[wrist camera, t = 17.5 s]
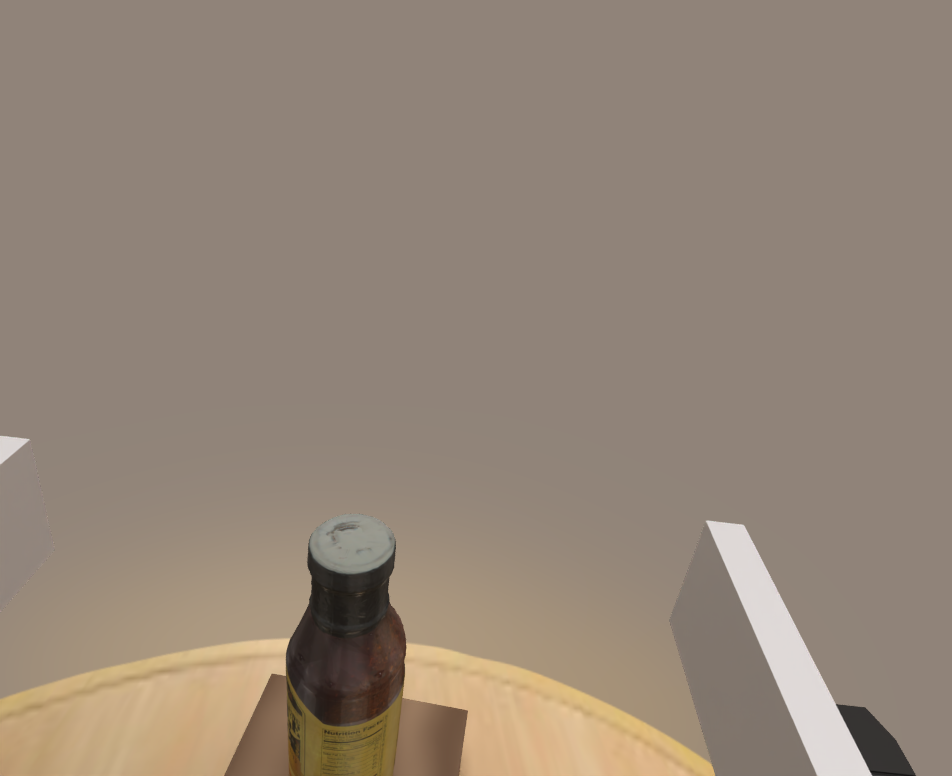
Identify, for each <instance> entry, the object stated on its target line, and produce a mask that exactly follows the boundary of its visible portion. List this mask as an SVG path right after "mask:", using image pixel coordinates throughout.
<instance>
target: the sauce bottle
mask: <svg viewBox="0 0 952 776" xmlns="http://www.w3.org/2000/svg"><path fill="white" fill-rule="evenodd" d="M395 549H396V541H395V537H394V534H393V533H392V531H391V530H390V528H388V527H387V526H386V525H385V524H384V523H383V522H381V521H380V520H378V519H376V518H374V517H371V516H367V515H362V514H345V515H341V516H338V517H335V518H332V519H330V520H328V521H326V522H324V523H323V524H322V525H320V526H319V527H317V529H316V530H315V531H314V532H313V533H312V535H311V537H310V540H309V546H308V562H307V563H308V569H309V571H310V573H311V575H312V581H311V584H312V590H311V596H310V599H309V605H308V607H307V609H306V611H305V613H304V616H303V617H302V619H301V621H300V623H299V625H298V627H297V629H296V630H295V632H294V634H293V636H292V637H291V639H290V642H289V644H288V648H287V652H286V685H287V718H288V720H287V728H288V758H289V776H393V770H394V765H395V758H396V750H397V741H398V732H399V723H400V714H401V704H402V696H403V687H404V678H405V664H404V659H405V656H406V638H405V632H404V629H403V624H402V622H401V619H400V617H399V615H398V614H397V613H396V611H395V609H394V608H393V607H392V606H391V604H390V602H389V594H388V585H389V577H390V575H391V574H392V571H393V569H394V561H395Z"/></svg>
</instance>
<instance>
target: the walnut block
mask: <svg viewBox="0 0 952 776" xmlns="http://www.w3.org/2000/svg"><path fill="white" fill-rule="evenodd" d="M467 713H468V711H467V710H462V709H457V708H451V707H446V706H441V705H436V704H430V703H425V702H420V701H414V700H409V699H404V698H402V704H401V714H400V723H399V732H398V741H397V750H396V758H395V765H394V770H393V776H459V769H460V762H461V755H462V748H463V741H464V734H465V727H466V720H467ZM287 720H288V718H287V685H286V676H282V675H277V674H271V677H270V679H269V681H268V683H267V685H266V687H265V689H264V692H263V694H262V696H261V698H260V700H259V702H258V704H257V707H256V709H255V711H254V713H253V715H252V717H251V719H250V722H249V724H248V726H247V728H246V730H245V732H244V735H243V737H242V739H241V741H240V743H239V745H238V747H237V750H236V752H235V754H234V756H233V758H232V760H231V762H230V765H229V767H228V769H227V771H226V773H225V775H224V776H289V758H288V728H287Z"/></svg>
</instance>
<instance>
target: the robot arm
mask: <svg viewBox="0 0 952 776" xmlns="http://www.w3.org/2000/svg"><path fill="white" fill-rule="evenodd" d="M54 550H55V549H54V544H53V539H52V535H51V531H50V526H49V522H48V517H47V513H46V508H45V504H44V500H43V495H42V490H41V486H40V481H39V477H38V473H37V468H36V464H35V459H34V455H33V450H32V446H31V442H30V439H23V438H14V437H5V436H0V612H1V611H2V610H3V609H4V608H5V606H6V605H7V604H8V603H9V602H10V600H12V598H13V597H14V596H15V595H16V594H17V593H18V592H19V590H20V589H21V588H22V587H23V586H24V585H25V584H26V582H27V581H28V580H29V579H30V578H31V577H32V576H33V574H34V573H35V572H36V571H37V570H38V568H39V567H40V566H41V565H42V564H43V563H44V562H45V561H46V559H47V558H48V557H49V556H50V555H51V554H52V553H53V551H54ZM669 621H670V625H671V628H672V631H673V634H674V638H675V641H676V645H677V648H678V651H679V655H680V658H681V661H682V664H683V668H684V672H685V675H686V678H687V682H688V685H689V688H690V692H691V695H692V698H693V702H694V705H695V708H696V712H697V715H698V719H699V722H700V725H701V729H702V732H703V735H704V739H705V742H706V745H707V749H708V752H709V756H710V759H711V762H712V766H713V769H714V772H715V776H916V775H915V773H914V771H913V769H912V768H911V766H910V764H909V762H908V761H907V759H906V757H905V755H904V754H903V752H902V750H901V748H900V747H899V745H898V743H897V741H896V740H895V739H894V738H893V736H892V735H891V734H890V733H889V732H888V731H887V730H886V729H885V728H884V727H883V726H882V725H881V724H880V723H879V722H878V721H877V719H875V717H874V716H873V715H872V714H871V713H870V712H869V711H868V710H867V709H866V708H865V707H855V706H846V705H838V704H835V702H834V701H833V698H832V697H831V695H830V693H829V691H828V689H827V687H826V685H825V683H824V681H823V679H822V677H821V675H820V673H819V671H818V670H817V667H816V665H815V663H814V662H813V659H812V657H811V655H810V653H809V651H808V650H807V648H806V646H805V644H804V642H803V640H802V638H801V636H800V634H799V632H798V630H797V628H796V626H795V624H794V622H793V620H792V618H791V616H790V614H789V613H788V610H787V609H786V606H785V605H784V603H783V601H782V599H781V597H780V595H779V593H778V591H777V589H776V587H775V585H774V583H773V581H772V579H771V577H770V575H769V573H768V571H767V569H766V567H765V565H764V563H763V562H762V560H761V558H760V556H759V554H758V552H757V550H756V548H755V546H754V544H753V542H752V540H751V538H750V536H749V534H748V532H747V530H746V528H745V526H744V525H740V524H731V523H723V522H715V521H705V524H704V527H703V530H702V532H701V535H700V538H699V541H698V543H697V546H696V549H695V551H694V554H693V557H692V560H691V562H690V565H689V568H688V570H687V573H686V576H685V579H684V581H683V584H682V587H681V590H680V592H679V595H678V598H677V600H676V603H675V606H674V609H673V612H672V614H671V617H670V620H669Z"/></svg>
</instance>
